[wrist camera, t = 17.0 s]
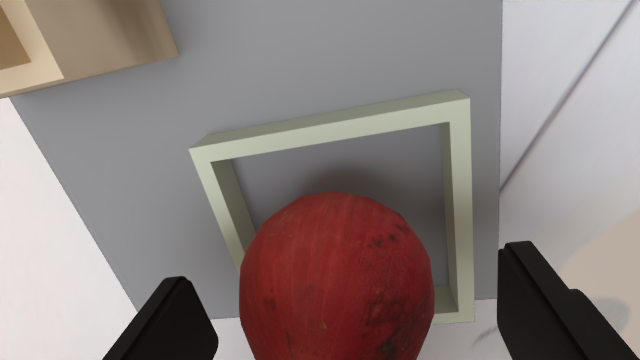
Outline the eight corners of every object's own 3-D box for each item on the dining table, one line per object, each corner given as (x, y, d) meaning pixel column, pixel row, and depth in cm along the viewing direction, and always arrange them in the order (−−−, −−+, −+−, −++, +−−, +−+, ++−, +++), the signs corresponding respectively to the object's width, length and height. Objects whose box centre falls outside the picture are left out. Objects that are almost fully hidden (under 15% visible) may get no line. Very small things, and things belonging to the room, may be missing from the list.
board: (487, 279, 16) (497, 298, 15) (156, 306, 19) (144, 324, 18) (488, -542, 7) (513, -650, 6) (-139, -219, 10) (-199, -248, 9)
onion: (409, 146, 12) (445, 307, 5) (430, 276, 14) (479, 537, 6) (264, 173, 13) (116, 325, 6) (300, 286, 15) (221, 506, 8)
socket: (464, 294, 15) (474, 321, 13) (270, 308, 16) (262, 334, 15) (456, 88, 11) (470, 98, 10) (206, 135, 13) (188, 148, 11)
